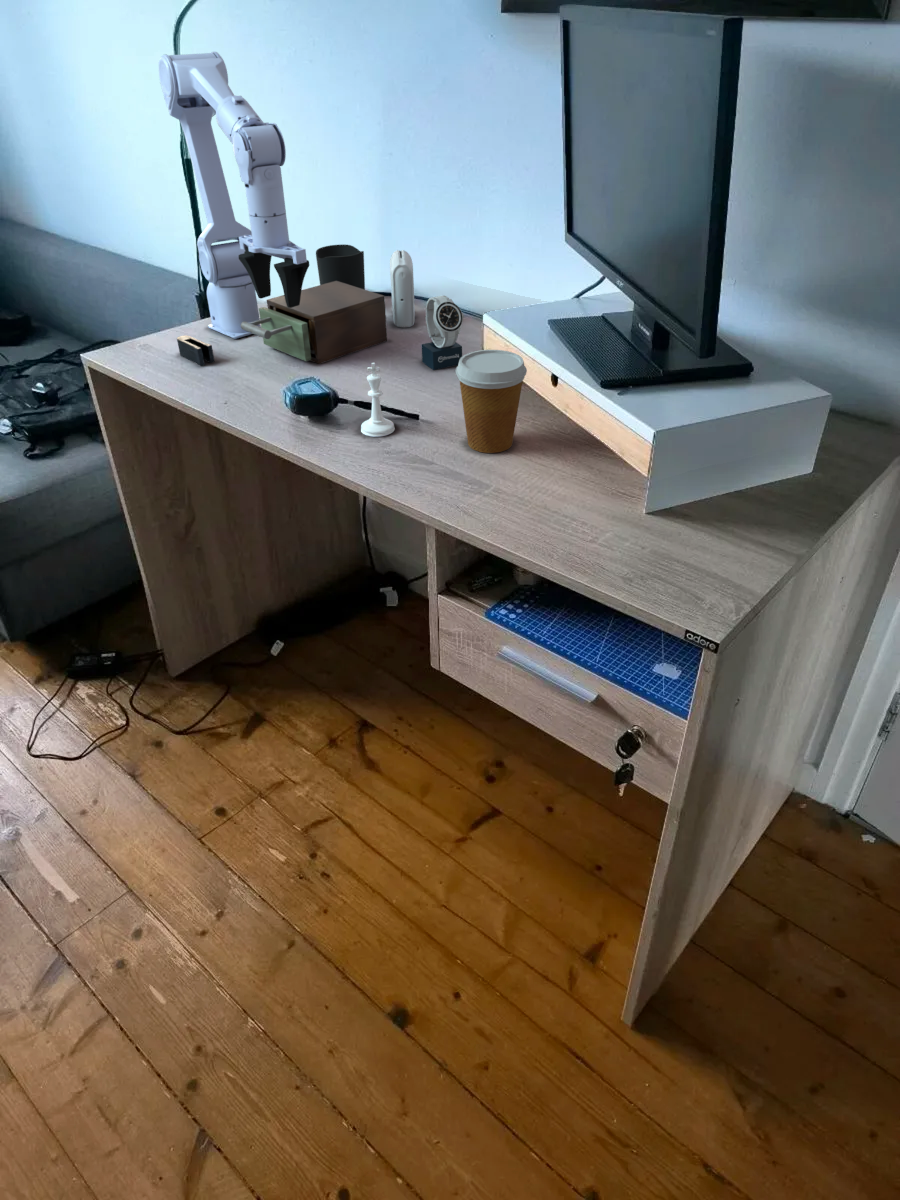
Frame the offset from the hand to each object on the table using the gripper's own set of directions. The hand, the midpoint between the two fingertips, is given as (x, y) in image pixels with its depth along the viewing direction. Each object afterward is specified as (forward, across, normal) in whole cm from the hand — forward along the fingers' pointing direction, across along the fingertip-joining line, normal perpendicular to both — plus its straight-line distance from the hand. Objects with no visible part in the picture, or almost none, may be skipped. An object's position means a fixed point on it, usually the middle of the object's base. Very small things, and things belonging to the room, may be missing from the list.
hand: (278, 301), depth 141 cm
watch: (+10, +21, +17) cm, 29 cm away
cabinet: (+10, -1, +11) cm, 15 cm away
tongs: (+10, -13, -9) cm, 19 cm away
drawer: (+9, -2, +6) cm, 11 cm away
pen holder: (+11, -17, +29) cm, 35 cm away
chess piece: (+10, +32, -9) cm, 35 cm away
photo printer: (+10, 0, +29) cm, 31 cm away
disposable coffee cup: (+10, +47, -2) cm, 48 cm away
